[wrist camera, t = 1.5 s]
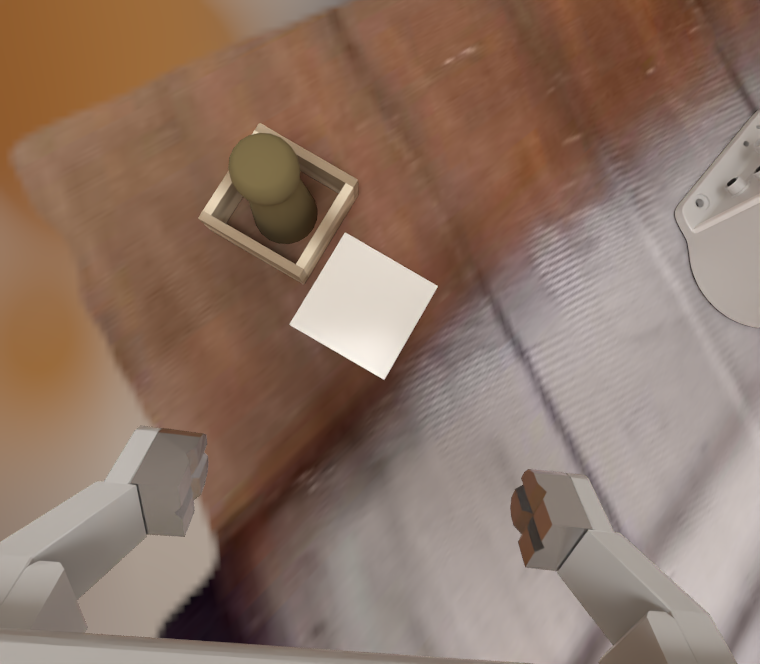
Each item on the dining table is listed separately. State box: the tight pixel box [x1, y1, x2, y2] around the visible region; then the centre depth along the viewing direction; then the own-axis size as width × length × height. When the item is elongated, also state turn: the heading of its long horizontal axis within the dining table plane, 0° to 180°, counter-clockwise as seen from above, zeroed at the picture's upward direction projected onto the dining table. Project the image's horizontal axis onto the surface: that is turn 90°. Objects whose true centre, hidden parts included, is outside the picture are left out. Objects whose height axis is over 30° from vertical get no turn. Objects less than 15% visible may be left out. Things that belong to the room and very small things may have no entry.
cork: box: [229, 133, 317, 244], centre depth 37 cm, size 6×6×11 cm
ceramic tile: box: [289, 233, 438, 380], centre depth 42 cm, size 10×10×1 cm
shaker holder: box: [198, 123, 358, 284], centre depth 41 cm, size 10×10×4 cm
